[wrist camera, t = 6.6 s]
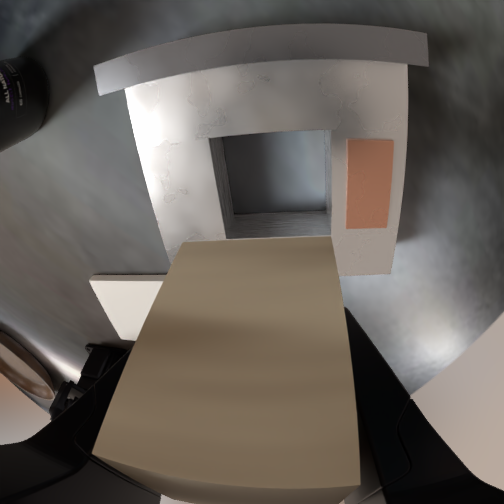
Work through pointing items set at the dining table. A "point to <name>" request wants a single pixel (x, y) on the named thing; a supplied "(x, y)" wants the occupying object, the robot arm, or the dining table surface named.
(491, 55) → the dining table surface
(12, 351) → the plant saucer
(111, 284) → the white square tile
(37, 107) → the supplement bottle
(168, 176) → the plate
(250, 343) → the birch peg
